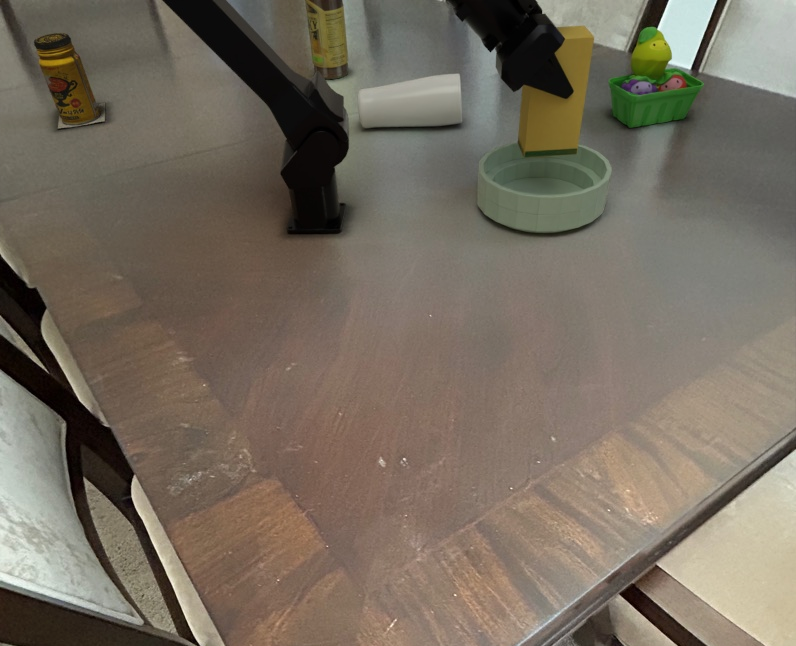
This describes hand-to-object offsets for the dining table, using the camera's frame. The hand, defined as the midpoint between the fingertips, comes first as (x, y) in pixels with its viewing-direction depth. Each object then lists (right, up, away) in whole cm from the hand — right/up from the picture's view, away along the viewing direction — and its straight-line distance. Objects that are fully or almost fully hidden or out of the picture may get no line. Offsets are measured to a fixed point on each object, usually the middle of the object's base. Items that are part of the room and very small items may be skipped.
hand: (565, 88), depth 72 cm
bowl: (-1, -10, +9) cm, 14 cm away
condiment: (-70, +13, +37) cm, 80 cm away
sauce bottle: (-30, +25, +47) cm, 61 cm away
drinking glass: (-24, +10, +27) cm, 38 cm away
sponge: (-1, -5, +5) cm, 7 cm away
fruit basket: (+19, +9, +27) cm, 34 cm away
